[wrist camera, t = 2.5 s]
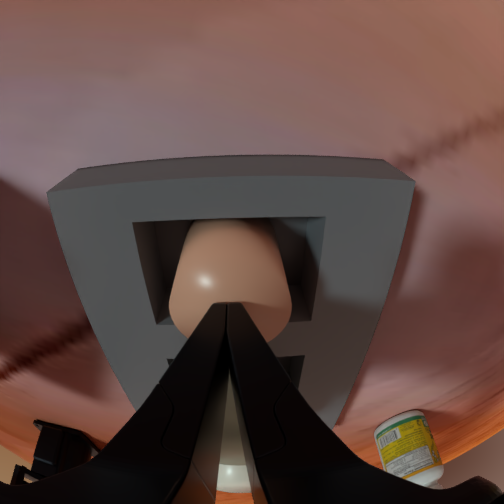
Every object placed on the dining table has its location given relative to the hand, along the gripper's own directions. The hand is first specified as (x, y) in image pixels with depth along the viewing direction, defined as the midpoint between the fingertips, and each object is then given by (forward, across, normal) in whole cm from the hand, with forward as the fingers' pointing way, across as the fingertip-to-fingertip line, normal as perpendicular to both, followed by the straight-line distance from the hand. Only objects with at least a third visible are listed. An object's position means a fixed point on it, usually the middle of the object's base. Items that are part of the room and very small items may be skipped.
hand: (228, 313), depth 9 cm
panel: (+4, 0, +6) cm, 8 cm away
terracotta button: (+4, 0, 0) cm, 4 cm away
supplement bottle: (+4, -15, +20) cm, 26 cm away
